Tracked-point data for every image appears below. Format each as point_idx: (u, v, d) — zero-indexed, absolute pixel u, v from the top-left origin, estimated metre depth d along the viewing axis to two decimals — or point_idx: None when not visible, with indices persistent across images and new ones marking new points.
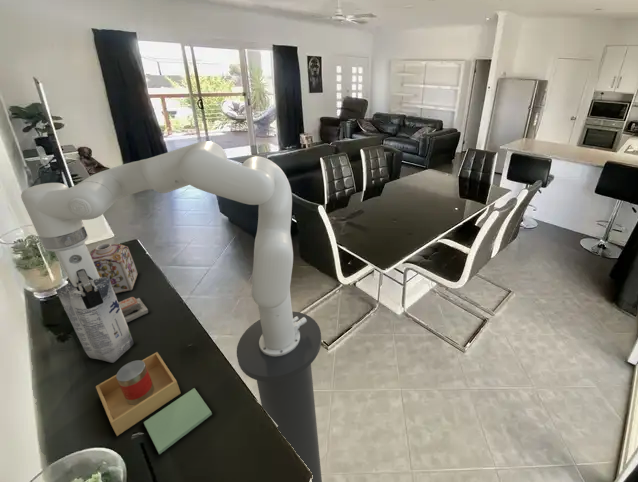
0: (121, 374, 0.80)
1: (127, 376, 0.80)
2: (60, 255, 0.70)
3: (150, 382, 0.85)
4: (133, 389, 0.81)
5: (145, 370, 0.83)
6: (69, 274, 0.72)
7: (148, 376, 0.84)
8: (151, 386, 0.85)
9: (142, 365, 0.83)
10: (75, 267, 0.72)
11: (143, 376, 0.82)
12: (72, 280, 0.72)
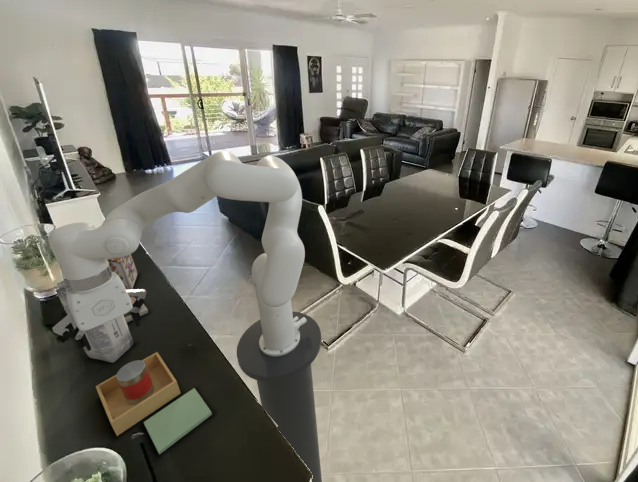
0: (121, 374, 0.80)
1: (127, 376, 0.80)
2: None
3: (150, 382, 0.85)
4: (133, 389, 0.81)
5: (145, 370, 0.83)
6: None
7: (148, 376, 0.84)
8: (151, 386, 0.85)
9: (142, 365, 0.83)
10: None
11: (143, 376, 0.82)
12: None
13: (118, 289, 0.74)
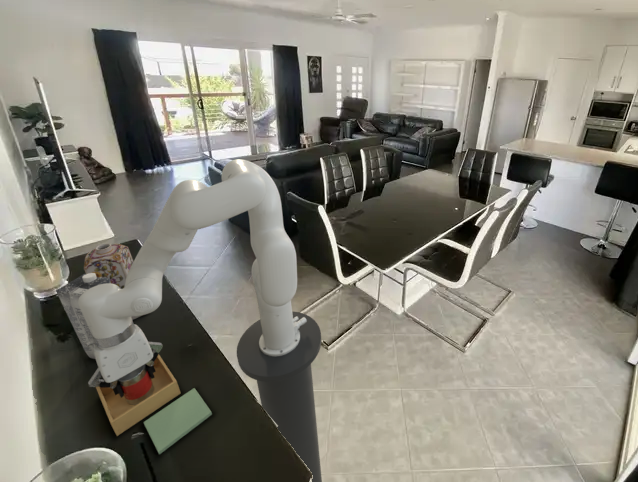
0: None
1: (127, 376, 0.80)
2: None
3: (150, 382, 0.85)
4: (133, 389, 0.81)
5: (145, 370, 0.83)
6: None
7: (148, 376, 0.84)
8: (151, 386, 0.85)
9: (142, 365, 0.83)
10: None
11: (143, 376, 0.82)
12: None
13: (140, 342, 0.79)
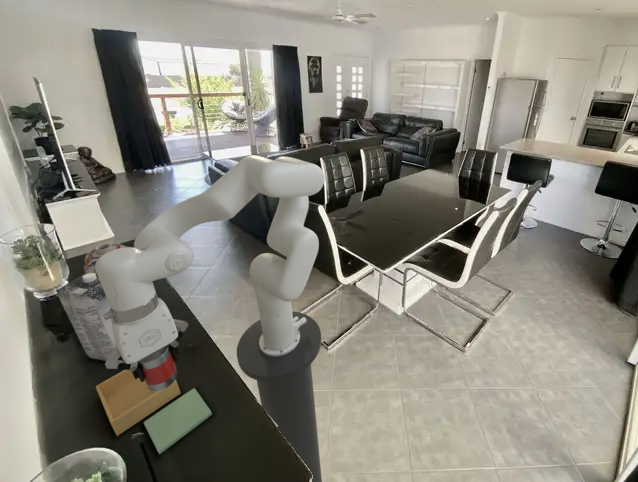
0: None
1: (149, 357, 0.69)
2: None
3: (174, 365, 0.74)
4: (155, 373, 0.70)
5: (169, 351, 0.72)
6: None
7: (172, 358, 0.73)
8: (175, 370, 0.74)
9: None
10: None
11: (167, 358, 0.71)
12: None
13: (164, 317, 0.68)
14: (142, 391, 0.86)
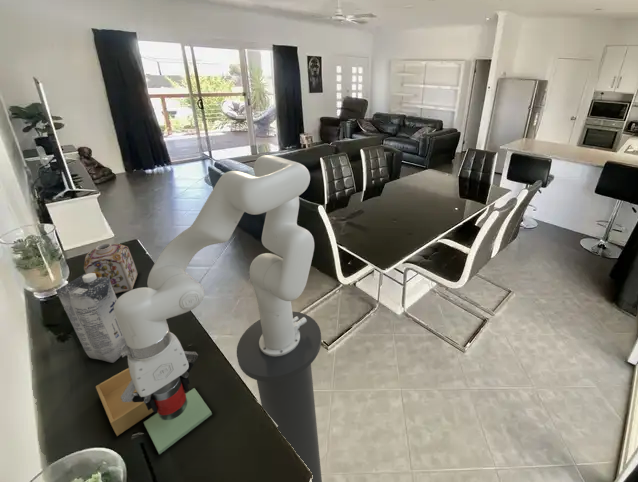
0: None
1: (161, 389, 0.73)
2: None
3: (184, 395, 0.78)
4: (167, 404, 0.73)
5: (180, 382, 0.76)
6: None
7: (182, 389, 0.77)
8: (185, 399, 0.78)
9: None
10: (130, 373, 0.68)
11: (178, 389, 0.75)
12: None
13: (177, 351, 0.72)
14: None
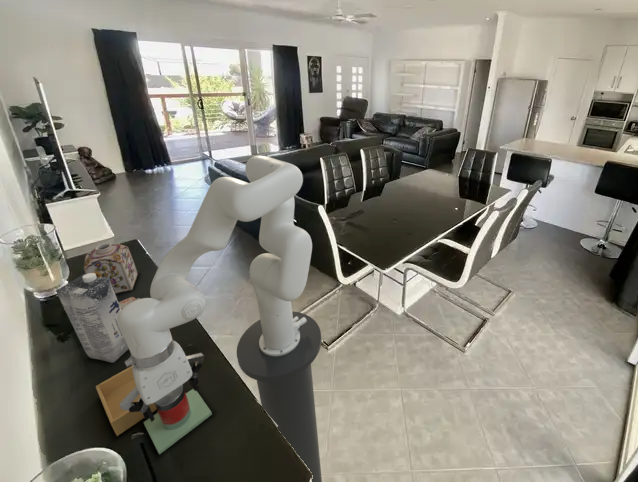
0: None
1: (165, 399, 0.74)
2: None
3: (188, 405, 0.79)
4: (171, 414, 0.75)
5: (183, 392, 0.77)
6: None
7: (186, 398, 0.78)
8: (189, 409, 0.79)
9: (180, 387, 0.77)
10: None
11: (182, 399, 0.76)
12: None
13: (180, 359, 0.73)
14: None
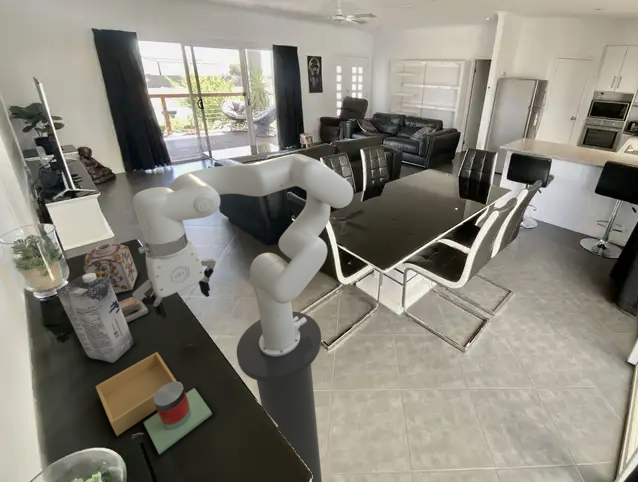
0: (159, 397, 0.75)
1: (165, 399, 0.74)
2: None
3: (188, 405, 0.79)
4: (171, 414, 0.75)
5: (183, 392, 0.77)
6: None
7: (186, 398, 0.78)
8: (189, 409, 0.79)
9: (180, 387, 0.77)
10: (148, 274, 0.70)
11: (182, 399, 0.76)
12: None
13: (193, 256, 0.73)
14: (142, 391, 0.86)
